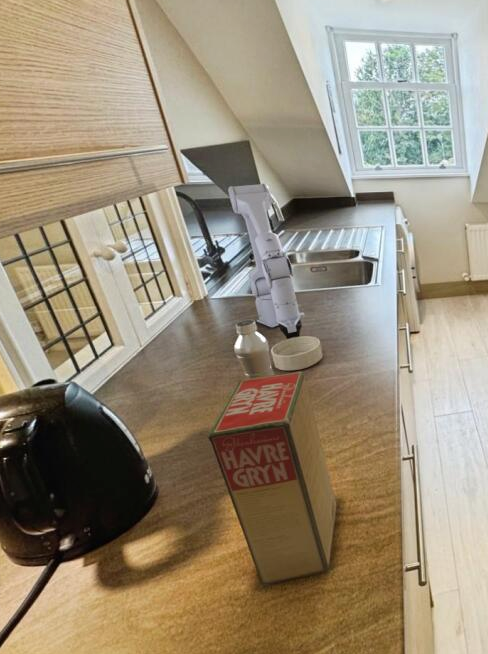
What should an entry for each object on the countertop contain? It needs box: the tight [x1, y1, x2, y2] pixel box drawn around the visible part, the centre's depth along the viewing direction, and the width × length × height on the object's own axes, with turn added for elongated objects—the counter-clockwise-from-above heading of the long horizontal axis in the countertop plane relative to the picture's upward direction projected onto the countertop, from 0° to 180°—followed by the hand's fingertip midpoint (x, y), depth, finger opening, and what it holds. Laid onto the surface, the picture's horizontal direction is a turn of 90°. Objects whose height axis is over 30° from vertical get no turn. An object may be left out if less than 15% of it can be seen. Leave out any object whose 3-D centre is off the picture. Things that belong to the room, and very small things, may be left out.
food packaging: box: [207, 370, 337, 586], centre depth 63 cm, size 13×9×25 cm
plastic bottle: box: [233, 319, 275, 379], centre depth 98 cm, size 6×7×20 cm
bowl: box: [270, 335, 324, 372], centre depth 120 cm, size 12×12×4 cm
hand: (295, 346), depth 127 cm, fingers closed
